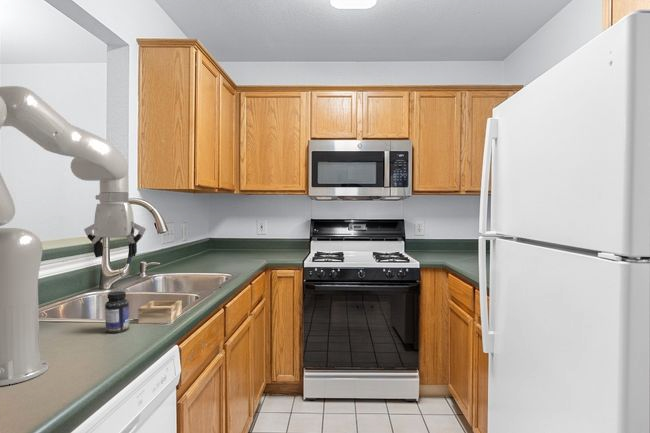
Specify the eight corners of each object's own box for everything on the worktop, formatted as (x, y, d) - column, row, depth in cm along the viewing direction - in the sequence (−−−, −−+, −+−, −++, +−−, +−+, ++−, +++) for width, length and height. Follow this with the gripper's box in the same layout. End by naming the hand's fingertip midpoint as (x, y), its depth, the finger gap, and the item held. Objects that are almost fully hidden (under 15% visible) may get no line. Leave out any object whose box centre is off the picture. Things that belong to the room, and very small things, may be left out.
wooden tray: (171, 322, 126) (171, 308, 126) (138, 323, 126) (138, 308, 126) (181, 314, 136) (181, 300, 136) (151, 314, 136) (151, 300, 136)
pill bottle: (123, 326, 123) (122, 289, 123) (133, 330, 119) (132, 292, 119) (101, 331, 118) (101, 293, 118) (111, 335, 114) (110, 296, 114)
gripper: (77, 199, 117) (78, 258, 118) (139, 198, 118) (140, 258, 118) (91, 199, 125) (92, 255, 125) (149, 199, 125) (150, 254, 126)
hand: (115, 256), depth 122 cm, fingers open, 9 cm apart
